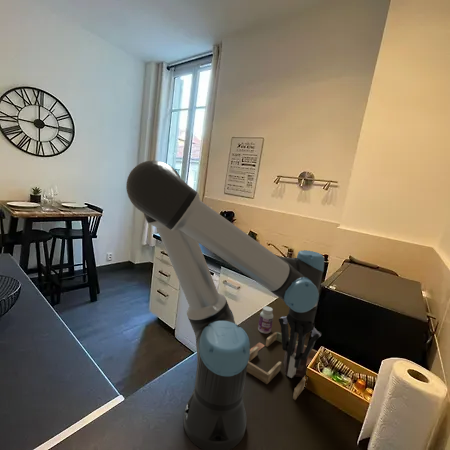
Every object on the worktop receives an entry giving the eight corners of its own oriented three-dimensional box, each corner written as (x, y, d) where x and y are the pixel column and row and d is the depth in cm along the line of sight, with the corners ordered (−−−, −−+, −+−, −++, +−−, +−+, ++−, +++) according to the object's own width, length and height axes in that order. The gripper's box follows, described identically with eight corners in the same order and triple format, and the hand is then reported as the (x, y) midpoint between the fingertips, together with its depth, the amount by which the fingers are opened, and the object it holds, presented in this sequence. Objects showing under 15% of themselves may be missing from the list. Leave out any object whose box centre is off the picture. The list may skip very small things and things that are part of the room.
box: (301, 366, 89) (304, 346, 88) (304, 378, 83) (308, 357, 82) (282, 362, 89) (286, 343, 88) (284, 375, 83) (288, 354, 82)
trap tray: (294, 401, 73) (295, 392, 73) (232, 362, 86) (234, 354, 86) (322, 362, 92) (324, 354, 92) (269, 335, 105) (270, 328, 105)
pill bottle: (260, 334, 105) (264, 311, 103) (255, 327, 110) (259, 305, 108) (273, 333, 106) (276, 311, 105) (267, 326, 111) (270, 305, 110)
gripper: (329, 307, 77) (316, 380, 80) (288, 292, 85) (278, 358, 88) (320, 316, 71) (306, 393, 75) (277, 298, 79) (266, 369, 83)
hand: (291, 374), depth 81 cm, fingers closed
